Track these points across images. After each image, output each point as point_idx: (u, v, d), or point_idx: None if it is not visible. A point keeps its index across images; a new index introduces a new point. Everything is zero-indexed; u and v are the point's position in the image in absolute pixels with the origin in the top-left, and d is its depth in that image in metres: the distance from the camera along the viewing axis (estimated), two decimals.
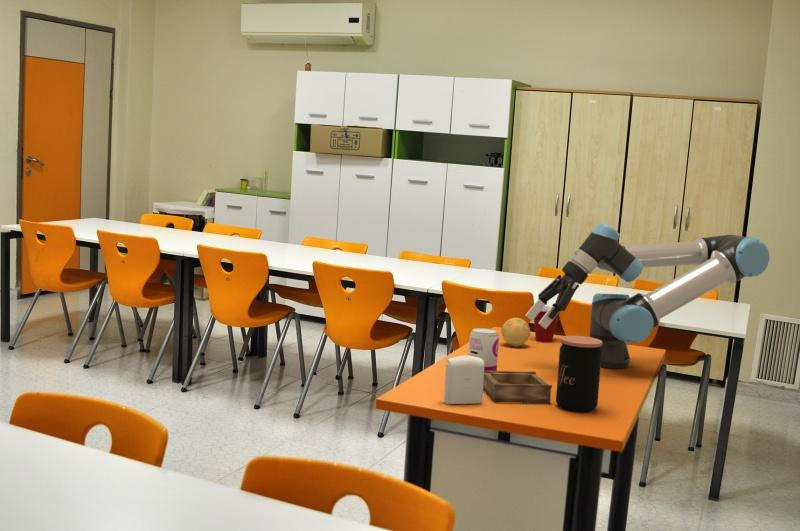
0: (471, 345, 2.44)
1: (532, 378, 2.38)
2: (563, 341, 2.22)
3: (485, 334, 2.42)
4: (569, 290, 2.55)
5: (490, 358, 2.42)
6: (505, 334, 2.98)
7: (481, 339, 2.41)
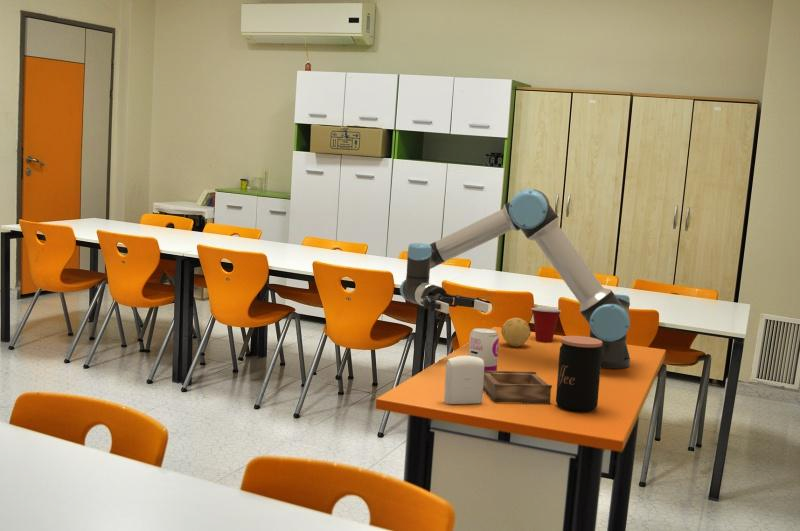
0: (471, 345, 2.44)
1: (532, 378, 2.38)
2: (563, 341, 2.22)
3: (485, 334, 2.42)
4: None
5: (490, 358, 2.42)
6: (505, 334, 2.98)
7: (481, 339, 2.41)
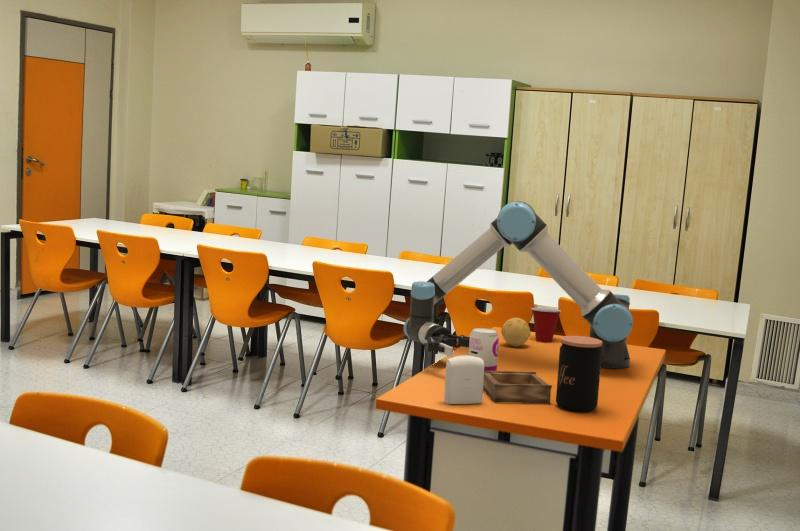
0: (471, 345, 2.44)
1: (532, 378, 2.38)
2: (563, 341, 2.22)
3: (485, 334, 2.42)
4: None
5: (490, 358, 2.42)
6: (505, 334, 2.98)
7: (481, 339, 2.41)
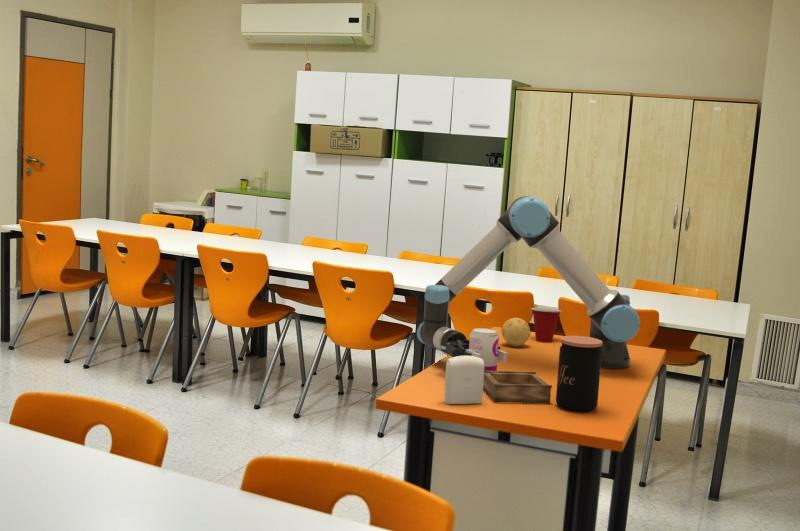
0: (471, 345, 2.44)
1: (532, 378, 2.38)
2: (563, 341, 2.22)
3: (485, 334, 2.42)
4: (446, 350, 2.50)
5: (490, 358, 2.42)
6: (505, 334, 2.98)
7: (481, 339, 2.41)
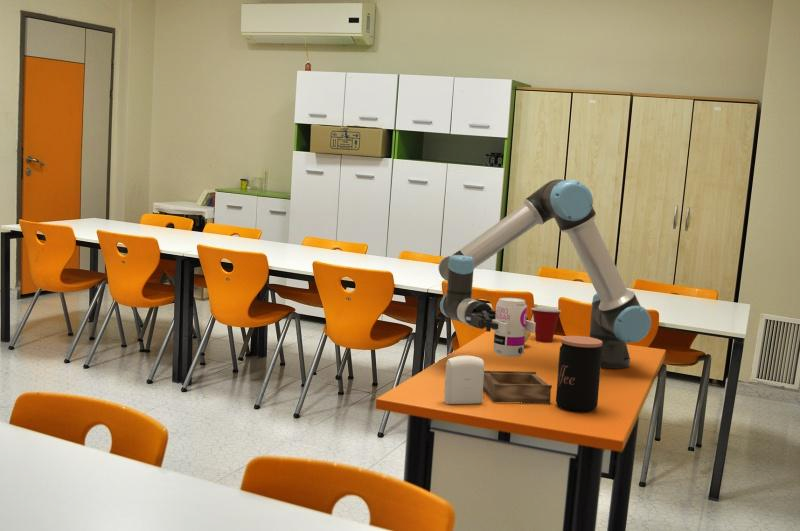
0: (497, 315, 2.32)
1: (532, 378, 2.38)
2: (563, 341, 2.22)
3: (513, 303, 2.30)
4: (472, 321, 2.39)
5: (518, 328, 2.30)
6: None
7: (509, 308, 2.29)
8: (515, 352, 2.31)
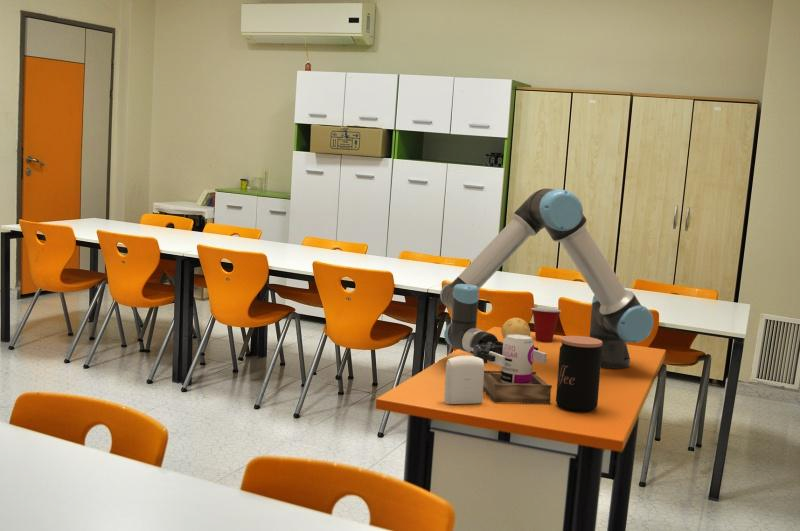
0: (504, 352, 2.31)
1: (532, 378, 2.38)
2: (563, 341, 2.22)
3: (520, 340, 2.29)
4: (473, 352, 2.38)
5: (525, 366, 2.29)
6: (505, 334, 2.98)
7: (516, 345, 2.28)
8: None
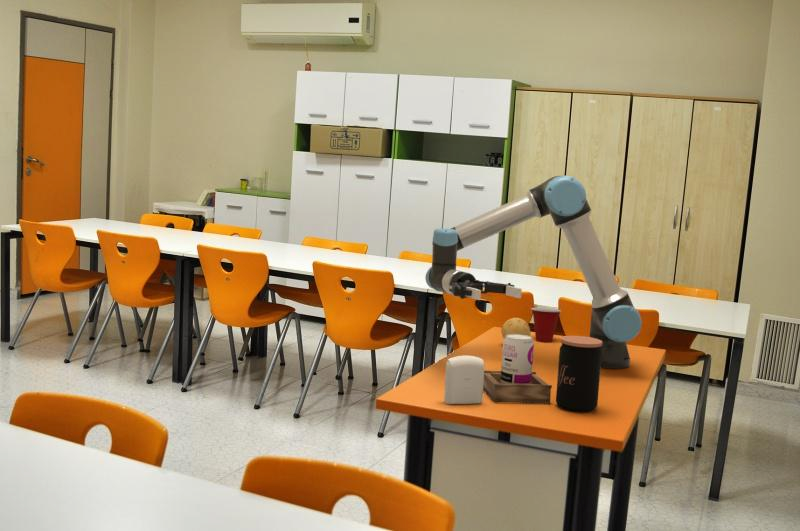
0: (504, 352, 2.31)
1: (532, 378, 2.38)
2: (563, 341, 2.22)
3: (520, 340, 2.29)
4: (452, 290, 2.48)
5: (525, 366, 2.29)
6: (505, 334, 2.98)
7: (516, 345, 2.28)
8: None
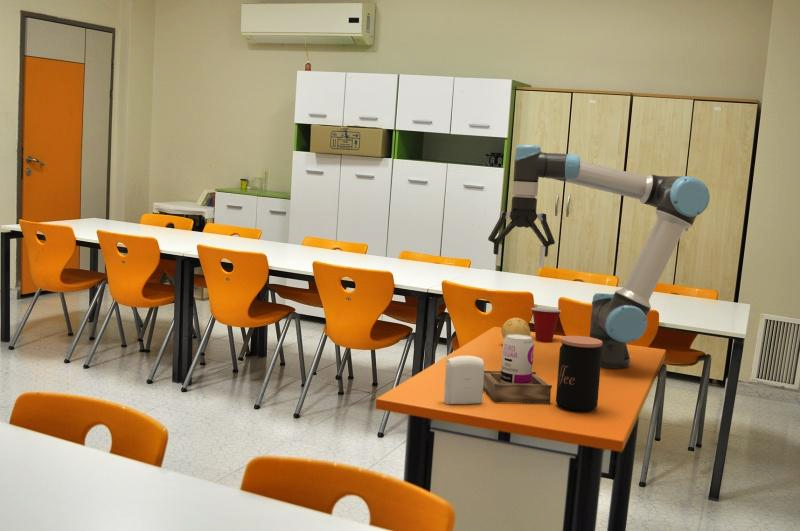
0: (504, 352, 2.31)
1: (532, 378, 2.38)
2: (563, 341, 2.22)
3: (520, 340, 2.29)
4: (498, 221, 2.61)
5: (525, 366, 2.29)
6: (505, 334, 2.98)
7: (516, 345, 2.28)
8: None
